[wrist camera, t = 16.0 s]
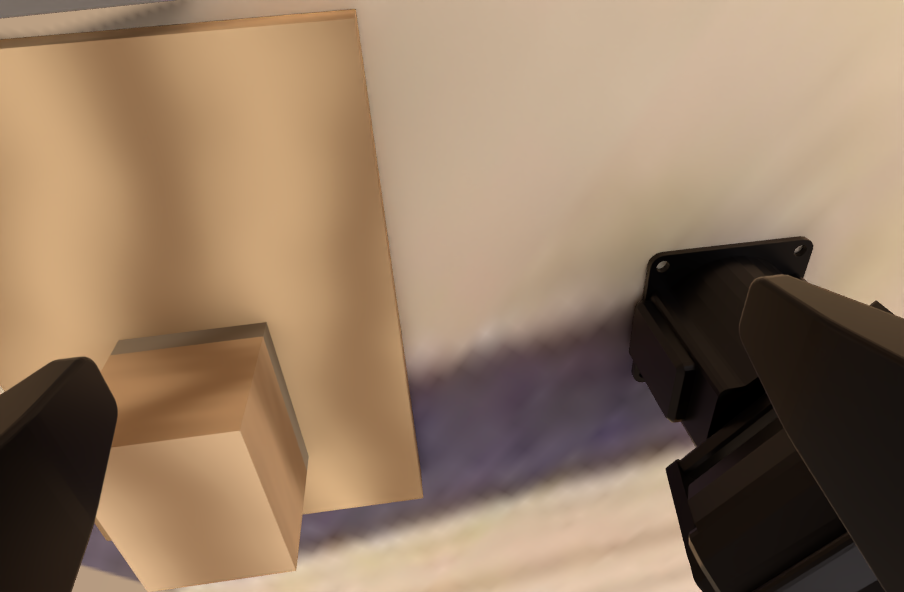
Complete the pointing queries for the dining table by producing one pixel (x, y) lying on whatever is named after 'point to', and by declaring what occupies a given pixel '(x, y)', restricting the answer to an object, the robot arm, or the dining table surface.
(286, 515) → the tan rectangular block
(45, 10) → the graphite stick
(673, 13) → the dining table surface
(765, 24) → the dining table surface
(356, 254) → the oak board
